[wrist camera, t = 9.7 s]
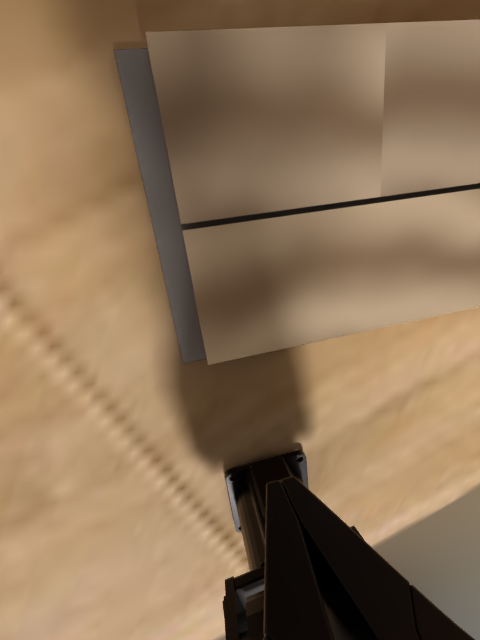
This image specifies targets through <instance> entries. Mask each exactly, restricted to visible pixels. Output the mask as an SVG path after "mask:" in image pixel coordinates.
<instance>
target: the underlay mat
mask: <svg viewBox="0 0 480 640" xmlns="http://www.w3.org/2000/svg"><path fill="white" fill-rule="evenodd" d="M114 54H115V58H116V63H117V67H118V72H119V76H120V81H121V85H122V90H123V94H124V99H125V103H126V108H127V112H128V117H129V121H130V126H131V130H132V135H133V139H134V144H135V148H136V153H137V157H138V162H139V166H140V171H141V175H142V180H143V184H144V189H145V193H146V198H147V202H148V207H149V211H150V216H151V220H152V225H153V229H154V234H155V238H156V243H157V247H158V252H159V256H160V261H161V266H162V270H163V275H164V279H165V284H166V288H167V293H168V297H169V302H170V306H171V311H172V315H173V320H174V324H175V329H176V333H177V338H178V342H179V347H180V351H181V356H182V360H183V363H188V362H193V361H197V360H202V359H207V358H206V353H205V348H204V343H203V337H202V332H201V327H200V322H199V316H198V311H197V306H196V301H195V295H194V290H193V285H192V280H191V274H190V269H189V264H188V258H187V253H186V248H185V243H184V237H183V232H182V231H183V230H190V229H197V228H204V227H211V226H218V225H225V224H232V223H239V222H246V221H254V220H261V219H268V218H275V217H282V216H289V215H296V214H303V213H310V212H317V211H324V210H331V209H339V208H346V207H353V206H360V205H367V204H374V203H381V202H388V201H395V200H402V199H409V198H416V197H423V196H431V195H438V194H445V193H452V192H459V191H466V190H473V189H480V183H477V184H470V185H462V186H455V187H448V188H441V189H433V190H426V191H419V192H412V193H404V194H397V195H390V196H383V197H375V198H368V199H361V200H354V201H346V202H339V203H332V204H325V205H317V206H310V207H303V208H296V209H288V210H281V211H274V212H267V213H259V214H252V215H245V216H238V217H230V218H223V219H216V220H209V221H201V222H194V223H187V224H181V222H180V216H179V211H178V206H177V200H176V195H175V190H174V185H173V179H172V174H171V169H170V163H169V158H168V153H167V148H166V142H165V137H164V132H163V127H162V121H161V116H160V111H159V105H158V100H157V95H156V90H155V84H154V79H153V74H152V68H151V63H150V58H149V52H148V48H142V49H120V50H114Z"/></svg>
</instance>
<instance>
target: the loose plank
mask: <svg viewBox="0 0 480 640" xmlns="http://www.w3.org/2000/svg"><path fill="white" fill-rule="evenodd" d="M182 232H183V237H184V243H185V248H186V253H187V258H188V264H189V269H190V274H191V280H192V285H193V290H194V295H195V301H196V306H197V311H198V316H199V322H200V327H201V332H202V337H203V343H204V348H205V353H206V358H207V363H208V365H211V364H215V363H220V362H225V361H229V360H234V359H239V358H243V357H248V356H253V355H257V354H262V353H267V352H271V351H276V350H281V349H286V348H290V347H295V346H300V345H304V344H309V343H314V342H318V341H323V340H328V339H332V338H337V337H342V336H346V335H351V334H356V333H360V332H365V331H370V330H374V329H379V328H384V327H388V326H393V325H398V324H402V323H407V322H412V321H416V320H421V319H426V318H430V317H435V316H440V315H444V314H449V313H454V312H458V311H463V310H468V309H472V308H477V307H480V189H473V190H466V191H459V192H452V193H445V194H438V195H431V196H423V197H416V198H409V199H402V200H395V201H388V202H381V203H374V204H367V205H360V206H353V207H346V208H339V209H331V210H324V211H317V212H310V213H303V214H296V215H289V216H282V217H275V218H268V219H261V220H254V221H246V222H239V223H232V224H225V225H218V226H211V227H204V228H197V229H190V230H183V231H182Z"/></svg>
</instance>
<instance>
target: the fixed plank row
mask: <svg viewBox="0 0 480 640" xmlns="http://www.w3.org/2000/svg"><path fill="white" fill-rule="evenodd" d="M145 35H146V41H147V47H148V52H149V58H150V63H151V68H152V74H153V79H154V84H155V90H156V95H157V100H158V105H159V111H160V116H161V121H162V127H163V132H164V137H165V142H166V148H167V153H168V158H169V163H170V169H171V174H172V179H173V185H174V190H175V195H176V200H177V206H178V211H179V216H180V222H181V224H187V223H194V222H201V221H209V220H216V219H223V218H230V217H238V216H245V215H252V214H259V213H267V212H274V211H281V210H288V209H296V208H303V207H310V206H317V205H325V204H332V203H339V202H346V201H354V200H361V199H368V198H375V197H383V196H390V195H397V194H404V193H412V192H419V191H426V190H433V189H441V188H448V187H455V186H462V185H470V184H477V183H480V20H453V21H426V22H399V23H373V24H346V25H319V26H292V27H265V28H239V29H212V30H185V31H158V32H145Z"/></svg>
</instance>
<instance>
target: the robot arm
mask: <svg viewBox="0 0 480 640" xmlns="http://www.w3.org/2000/svg"><path fill="white" fill-rule="evenodd" d="M299 457H300V458H299ZM231 476H232V477H231ZM225 477H226V482H227V487H228V492H229V498H230V503H231V508H232V513H233V518H234V523H235V528H236V531H237V532H242V535H243V540H244V545H245V550H246V554H247V559H248V564H249V569H250V572H247V573H245V574H242V575H240V576H238V577H235V578H234V576H233V577H231V578H228V579H226V580H225V591H226V596H224V601H223V610H224V618H225V632H226V640H475V639H473V638H472V637H471V636H470V635H468V633H466V632H465V631H463V629H461V628H460V627H459V626H458V625H457V624H455V623H454V622H453V621H452V620H451V619H450V618H449V617H447V616H446V615H445V614H444V613H443V612H442V611H441V610H439V609H438V608H437V607H436V606H435V605H434V604H433V603H432V602H431V601H429V600H428V599H427V598H426V597H425V596H424V595H423V594H422V593H421V592H420V591H418V590H417V588H415V587H414V586H413V585H409V581H408V580H407V579H405V578H404V577H403V576H402V575H401V574H400V573H399V572H398V571H397V570H396V569H395V568H393V567H392V566H391V565H390V564H389V563H388V562H387V561H386V560H385V559H384V558H383V557H382V556H380V555H379V554H378V553H377V552H376V551H375V550H374V549H373V548H372V547H371V546H370V545H368V544H367V543H366V542H365V540H364V539H363V538H362V536H361V535H360V533H359V532H358V531H357V529H356V528H355V527H354V526H352V527H349V526H348V525H347V524H346V523H345V522H343V521H342V520H341V519H340V518H339V517H338V516H337V515H336V514H335V513H334V512H333V511H332V510H330V509H329V508H328V507H327V506H326V505H325V504H324V503H323V502H322V501H321V500H320V499H318V498H317V497H316V496H315V495H314V494H313V493H312V492H311V491H310V490H309V489H308V476H307V461H306V456H305V454H304V452H303V451H296V452H292V453H289V454H285V455H281V456H278V457H274V458H270V459H267V460H263V461H259V462H255V463H252V464H248V465H244V466H241V467H237V468H233V469H230V470H228V471H227V472H226V474H225Z"/></svg>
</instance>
